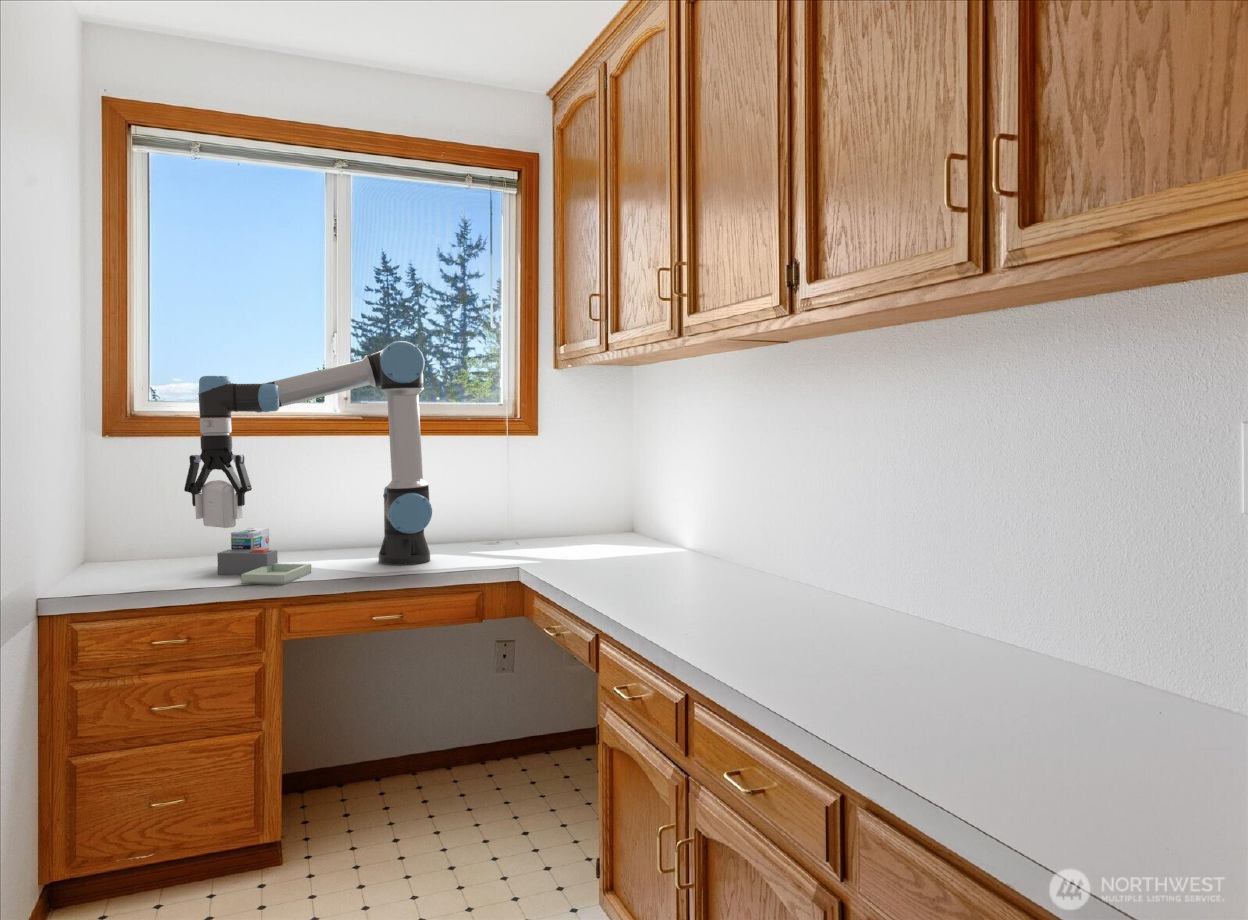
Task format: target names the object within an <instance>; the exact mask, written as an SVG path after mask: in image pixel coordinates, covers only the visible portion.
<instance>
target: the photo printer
mask: <svg viewBox="0 0 1248 920" xmlns="http://www.w3.org/2000/svg"><path fill="white" fill-rule="evenodd" d="M201 494H202V505H203V518H202V523H203V526H205V527H212V528H220V529H221V528H222V529H228V528H229V529H230V528H231V529H232V528H235V526H236V523H237V522H236V521H237V519H234V494H235V489H234V488H233V486H232V484H231V483H230V482H227V481H224V480H221V479H220V480H219V479H218V480H211V481H208V482H205V484H204V486H203V488H202V490H201Z"/></svg>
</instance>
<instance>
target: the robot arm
mask: <svg viewBox="0 0 1248 920" xmlns="http://www.w3.org/2000/svg"><path fill="white" fill-rule="evenodd" d="M424 357H425V356H424V355H423V352H422V351H421V350H420V349H419V347H418V346H416V345H415V344H413V343H412V342H409V341H405V340H404V341H402V340H399V341H398V340H397V341H393V342H390V343H389V344H387V345H386V346H385V347H384V348H383V349H382V350H380V351H377V352H374V353H371V354H366V355H364V357H363V359H361V360H360V359H359V360H357V361H352V362H348V363H344V364H340V365H336V366H332V367H328V368H323V369H319V370H318V369H317V370H315V371H312V372H306V373H302V374H298V375H295V376H289V377H286V378H285V377H284V378H282V379H276V380H273V381H270V382H264V383H232V381H231V378H230V377H229V376H225V375H204V376H201V377H200V378H199V380H198V393H197V394H198V408H199V410H198V411H199V430H200V431H199V433H200V434H202V435H201V436H200V450H201V453H200V454H199V455H198V454H191V455H189V458H188V459H189V467H188V472H187V474H186V480H185V485H184V492H186V493H190V494H191V501H192V504H191V505H192V506H193V507H195V508H194V509H195V519H196V520H200V519H203V505H202V488H203V486H204V485H205V484H206V483H207V479H208V477H209V476H210V474H211V472H212V471H214V470H219V471H222V472H223V473H224V474H225V475H226V477H227V480H229V484H231V485H232V486H233V488H234V519H236V520H238V519H239V520H240V519H242V518H243V506H245V505H246V502H245V501H246V500H245V498H246V497H245V495H246V493H247V492H250V491H252V489H253V488H252V484H251V480H250V478H249V475H248V471H247V469H246V465H245V455H244V454H234V452H233V451H232V450H233V436H232V435H231V434H230V433H232V432H233V429H232V428H233V427H232V412H234V413H238V412H240V413H241V412H243V413H245V412H247V413H248V412H249V413H252V412H253V413H269V412H270V413H271V412H277V411H279V410H280V408H282V407H285V406H289V405H293V404H294V405H295V404H298V403H301V402H306V401H310V400H314V399H319V398H322V397H326V396H330V395H334V394H338V393H342V392H347V391H350V390H355V389H359V388H363V387H366V386H367V387H368V386H372V387H373V388H377V387H378V388H379V387H381V389H380V391H381V392H382V393H384V395H386V398H387V413H388V415H387V416H388V417H387V418H388V430H389V431H388V433H389V436H388V437H389V448H390V449H389V454H390V469H391V470H390V471H391V481H390V482H389V483H388V484H387V485H386V486H385V487H384V488H383V495H382V496H383V513H384V514H383V517H384V518H383V520H384V521H383V531H384V532H383V533H384V534H383V535H384V536H383V539H382V542H381V546H380V548H379V552H378V563H380V564H383V565H391V566H392V565H397V566H398V565H399V566H400V565H402V566H403V565H404V566H405V565H416V564H422V563H427V562H429V561H431V551H430V548H429V546H428V542H427V539H426V536H425V528H427V526H428V525H429V524H430V522H431V519H432V516H433V507H432V504H431V502H430V490H429V489H430V488H429V487H430V486H429V485H430V484H429V483H428V482H427V481H426V480H425V479H424V477H423V458H422V440H421V439H422V438H421V421H420V420H421V419H420V417H421V416H420V403H419V402H420V401H419V400H420V398H419V396H420V394H421V392H423V390H424V373H423V372H424V370H425V358H424ZM201 461H202V462H203V465H202V466H201V469H200V463H201ZM232 461H233V463H234V464H235V467H236V472H235V471H234V470H235V469H234V467H233V465H232V464H231V462H232ZM199 469H200V470H201V471H200V473H199V475H198V472H199ZM237 474H238V475H237Z"/></svg>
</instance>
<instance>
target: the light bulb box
mask: <svg viewBox="0 0 1248 920" xmlns="http://www.w3.org/2000/svg"><path fill="white" fill-rule="evenodd" d="M230 545H231V546H230V548H231V549H230V550H252V549H255V548H269V549H270V528H268V527H267V528H266V527H262V528H261V527H260V528H259V527H247V528H242V529H239V530H235V531H233V532H230Z"/></svg>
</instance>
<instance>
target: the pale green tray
mask: <svg viewBox="0 0 1248 920" xmlns="http://www.w3.org/2000/svg"><path fill="white" fill-rule="evenodd" d="M272 565H273V566H272ZM272 565H270V566H271V568H270V566H269V567H268V569H270V570H268V573H267V566H263V567H260V568H257V569H255V570H252V571H249V572H246V573H244V574H241V575H240V576H241V584H242V585H283V586H284V585H287V584H289V583H292V582H293V581H296V580H298V579H300V578H303V577H305V576H307V575H309V574H311V573H312V564H311V563H275V564H272Z"/></svg>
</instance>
